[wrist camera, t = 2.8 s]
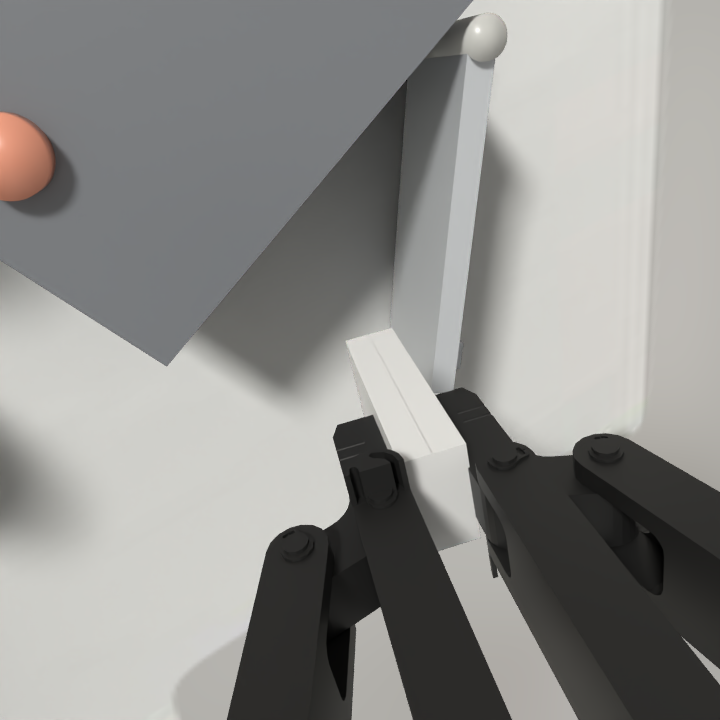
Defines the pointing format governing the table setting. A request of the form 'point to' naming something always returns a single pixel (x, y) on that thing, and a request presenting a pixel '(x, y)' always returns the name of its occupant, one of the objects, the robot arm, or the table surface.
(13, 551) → the table surface
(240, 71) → the camera body
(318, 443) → the table surface
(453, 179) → the side door
